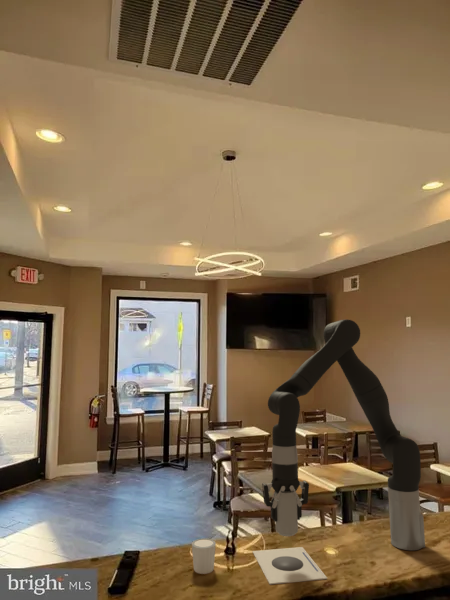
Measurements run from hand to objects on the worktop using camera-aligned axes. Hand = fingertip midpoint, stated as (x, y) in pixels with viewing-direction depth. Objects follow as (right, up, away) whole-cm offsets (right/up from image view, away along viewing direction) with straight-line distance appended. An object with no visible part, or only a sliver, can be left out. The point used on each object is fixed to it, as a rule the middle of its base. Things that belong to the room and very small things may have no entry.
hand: (286, 519), depth 130 cm
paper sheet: (0, -12, -2) cm, 12 cm away
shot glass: (-24, -12, -4) cm, 27 cm away
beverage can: (0, -4, 0) cm, 4 cm away
